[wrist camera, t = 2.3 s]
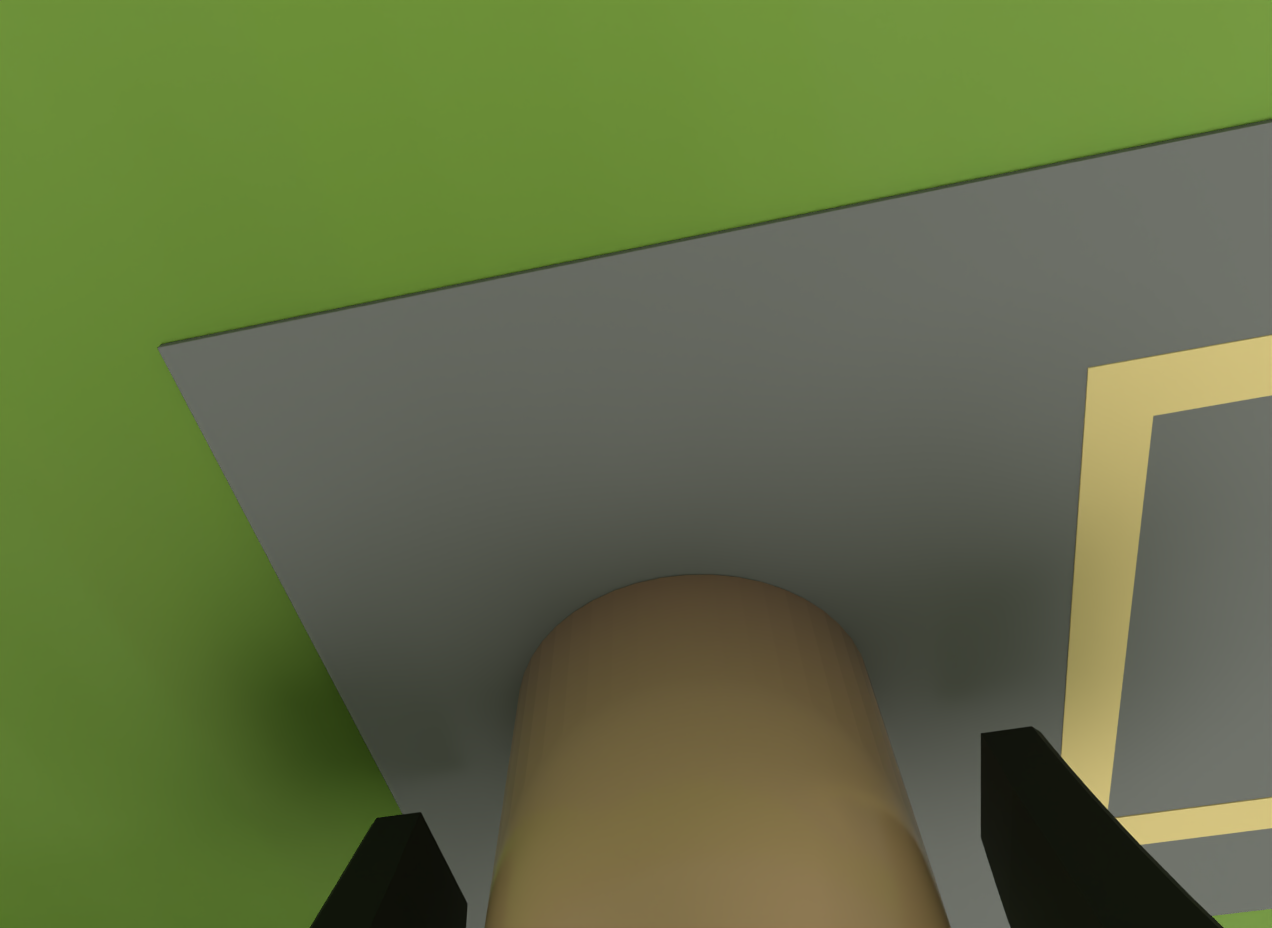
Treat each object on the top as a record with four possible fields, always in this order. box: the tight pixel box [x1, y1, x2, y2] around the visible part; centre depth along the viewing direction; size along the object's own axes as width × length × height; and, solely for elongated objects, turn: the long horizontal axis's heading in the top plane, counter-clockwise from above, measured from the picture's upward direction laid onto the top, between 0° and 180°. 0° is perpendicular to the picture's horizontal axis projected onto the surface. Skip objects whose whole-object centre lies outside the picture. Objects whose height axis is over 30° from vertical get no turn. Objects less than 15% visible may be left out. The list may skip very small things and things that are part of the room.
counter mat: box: [158, 119, 1272, 928], centre depth 13 cm, size 20×14×1 cm
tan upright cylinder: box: [485, 575, 951, 928], centre depth 10 cm, size 5×5×6 cm
